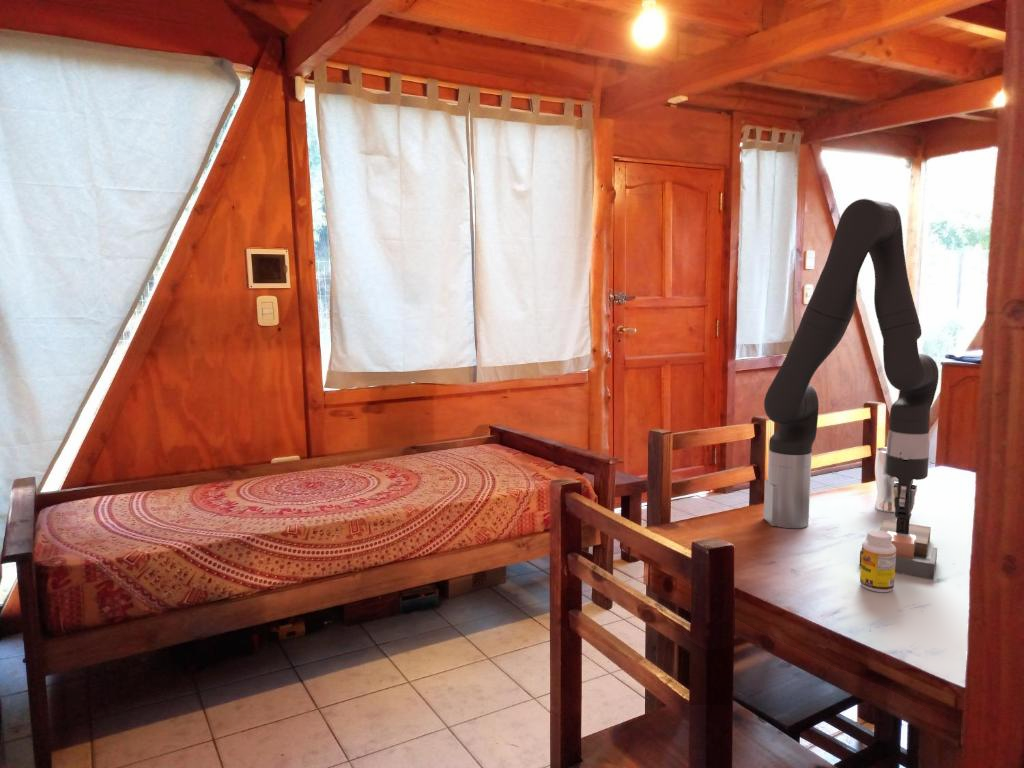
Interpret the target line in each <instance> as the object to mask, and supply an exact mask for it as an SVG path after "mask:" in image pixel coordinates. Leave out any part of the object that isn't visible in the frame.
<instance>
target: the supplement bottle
mask: <svg viewBox="0 0 1024 768" xmlns="http://www.w3.org/2000/svg"><path fill="white" fill-rule="evenodd" d="M866 537H867V540H866V539H865V540H866V541H865V540H864V541H863V542H862V543H861V548H862V555H861V566H860V574H859V583H860V585H861V586H862V587H863V589H867V590H869V591H871V592H874V593H875V592H877V593H889V592H891V591H893V590H894V588H895V579H896V578H895V577H896V573H895V562H896V547H895V546H894V545H893V544H892V535H891V534H890V533H887V532H884V531H880V530H875V529H874V530H868V531H867V535H866Z"/></svg>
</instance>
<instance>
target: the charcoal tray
mask: <svg viewBox="0 0 1024 768" xmlns="http://www.w3.org/2000/svg"><path fill="white" fill-rule="evenodd" d="M866 540H867V536H866V538H865V540H864V541H866ZM861 555H862V547H861V549H860V551H859V567H861ZM937 556H938V547H934V546H933V547H932V549H931V555H930V557H926V558H925V557H919V556H914V559H910V558H904V557H898V556H896V562H895V574H902V575H906V576H911V577H912V576H913V577H918V578H924V579H929V580H935V579H934V578H935V572H936V567H937Z"/></svg>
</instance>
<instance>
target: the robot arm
mask: <svg viewBox="0 0 1024 768" xmlns="http://www.w3.org/2000/svg"><path fill="white" fill-rule="evenodd" d="M868 254H869V256H870V258H871V262H872V266H873V271H874V296H873V299H874V301H873V302H874V311H875V315H876V318H877V323H878V326H879V330H880V333H881V338H882V341H883V343H882V344H883V346H882V352H883V355H882V356H883V369H884V374H885V376H886V378H887V381H888V382H889V384H890V385H891V386H892V387H893V388H894V389H896V390H898V391H899V393H898V398H897V400H896V401H894V402H893V404H891V406H890V411H889V423H888V433H887V434H888V435H887V438H886V447H887V449H886V466H885V472H886V474H887V475H889V476H891V477H896V478H898V482H895V485H894V487H893V493H894V507H895V513H894V518H896V522H897V524H896V533H902V534H909V524H910V523H911V522H910V521H911V517H912V511H913V509H914V506H915V502H916V501H915V500H916V499H915V497H916V493H917V490H918V484H915V483H914V480H916V481H918V480H924V479H926V478H928V475H929V474H928V473H929V460H930V457H929V456H930V421H931V420H930V418H931V407H932V405H933V403H934V399H935V397H936V392H937V389H938V385H939V376H940V375H939V368H938V365H937V362H936V360H934V359H933V358H932V356H930V355H928V354H926V353H925V354H923V353H919V347H918V340H919V339H920V338H921V336H922V326H921V322H920V320H919V317H918V316H919V315H918V312H917V308H916V304H915V301H914V298H913V294H912V289H911V285H910V281H909V277H908V270H907V264H906V257H905V256H906V255H905V248H904V233H903V225H902V219H901V214H900V212H899V210H898V208H897V207H896V206H895V204H893V203H891V202H889V201H885V200H879V199H874V198H873V199H872V198H860V199H859V198H858V199H856V200H854V201H852V202H851V203H850V204H849V205H847V207H846V208H845V209H844V210H843V212H842V213H841V216H840V218H839V220H838V223H837V226H836V229H835V233H834V235H833V239H832V243H831V246H830V248H829V252H828V256H827V258H826V261H825V264H824V266H823V268H822V271H821V273H820V274H819V278H818V280H817V283H816V284H815V288H814V291H813V292H812V294H811V297H810V298H809V300H808V303H807V305H806V308H805V310H804V311H803V312H804V313H803V315H802V317H801V320H800V322H799V325H798V327H797V331H796V332H795V335H794V337H793V339H792V342H791V344H790V347H789V348H788V351H787V353H786V356H785V358H784V360H783V362H782V364H781V366H780V368H779V369H778V371H777V374H776V375H775V377H774V379H773V380H772V382H771V384H770V385H769V387H768V389H767V391H766V393H765V396H764V401H763V408H764V411H765V414H766V417H768V419H769V420H770V421H772V422H773V423H775V424H778V427H777V429H776V431H775V432H774V433H773V434H772V435H771V436H770V438H769V442H768V465H767V468H768V471H767V478H766V479H765V480H764V498H763V499H764V501H763V503H764V504H763V519H764V520H765V521H766V522H767V523H768V524H769V525H770V526H772V527H780V528H785V529H800V528H801V529H802V528H807V527H808V526H809V521H810V520H809V519H810V498H811V496H810V494H811V474H812V453H813V452H812V451H813V444H814V443H815V441H816V437H817V433H818V420H819V409H820V408H819V407H820V405H819V404H820V403H819V398H818V394H817V392H816V389H815V388H814V387H813V386H812V385H811V384H810V382H811V380H812V378H813V376H814V375H815V373H816V371H817V370H818V369H819V367H820V366H821V365H822V364H823V363H824V361H825V360H826V359H827V358H828V357H829V356H830V355H831V353H832V352H833V351H834V350H835V349H836V347H838V345H839V344H840V342H841V340H842V338H843V337H844V336H845V333H846V331H847V329H848V327H849V324H850V323H851V320H852V317H853V315H854V312H855V309H856V305H857V304H856V303H857V291H858V290H857V289H858V279H859V274H860V271H861V269H862V266H863V264H864V262H865V260H866V258H867V256H868Z"/></svg>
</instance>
